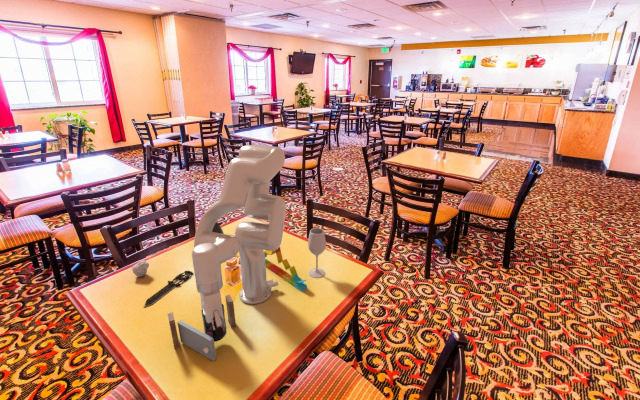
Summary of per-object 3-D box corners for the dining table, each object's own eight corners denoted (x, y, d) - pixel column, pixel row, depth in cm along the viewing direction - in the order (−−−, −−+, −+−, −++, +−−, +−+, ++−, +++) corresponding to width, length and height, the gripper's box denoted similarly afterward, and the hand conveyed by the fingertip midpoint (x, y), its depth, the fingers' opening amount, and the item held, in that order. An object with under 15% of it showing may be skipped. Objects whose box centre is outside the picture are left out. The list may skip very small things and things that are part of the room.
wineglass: (305, 275, 142) (305, 233, 134) (312, 267, 148) (312, 226, 141) (321, 279, 139) (321, 236, 132) (327, 270, 146) (328, 228, 138)
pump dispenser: (222, 252, 160) (219, 224, 155) (202, 252, 160) (198, 224, 155) (228, 242, 170) (225, 216, 165) (208, 242, 170) (205, 216, 165)
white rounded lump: (150, 277, 140) (147, 263, 137) (132, 281, 137) (128, 266, 135) (151, 270, 145) (149, 257, 143) (134, 273, 143) (131, 259, 140)
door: (178, 344, 104) (174, 324, 102) (184, 339, 106) (180, 320, 103) (210, 363, 97) (207, 343, 95) (216, 358, 99) (213, 338, 96)
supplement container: (201, 342, 101) (197, 315, 98) (210, 326, 108) (206, 301, 104) (222, 343, 101) (219, 316, 97) (229, 328, 107) (226, 302, 104)
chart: (307, 288, 134) (307, 257, 128) (301, 292, 131) (301, 260, 126) (264, 260, 154) (263, 232, 149) (259, 263, 152) (257, 234, 146)
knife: (146, 310, 121) (145, 307, 120) (135, 305, 124) (134, 302, 123) (197, 275, 142) (196, 272, 142) (186, 271, 145) (185, 269, 144)
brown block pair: (232, 319, 116) (229, 294, 112) (235, 326, 113) (233, 300, 109) (172, 340, 106) (167, 313, 103) (174, 348, 103) (169, 321, 99)
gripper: (191, 272, 103) (198, 317, 109) (202, 302, 88) (209, 352, 95) (215, 266, 106) (220, 310, 112) (229, 294, 92) (234, 343, 98)
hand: (215, 329), depth 103 cm, fingers closed on supplement container, 6 cm apart
